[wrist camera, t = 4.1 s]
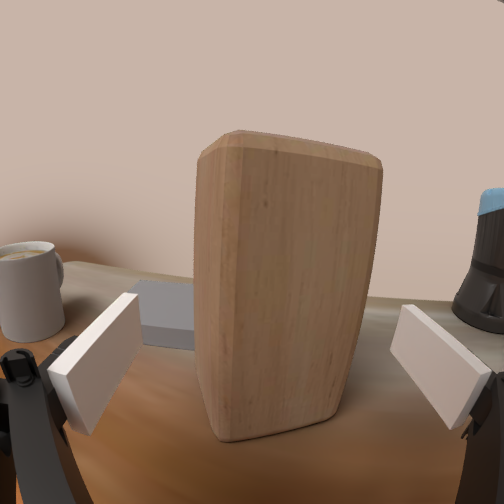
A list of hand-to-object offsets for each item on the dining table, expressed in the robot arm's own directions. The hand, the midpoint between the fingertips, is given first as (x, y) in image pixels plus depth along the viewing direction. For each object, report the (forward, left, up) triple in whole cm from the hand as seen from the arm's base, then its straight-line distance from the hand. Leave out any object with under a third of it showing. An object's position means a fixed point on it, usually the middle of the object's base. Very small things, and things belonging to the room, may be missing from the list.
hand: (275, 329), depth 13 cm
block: (0, -7, -11) cm, 13 cm away
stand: (+11, -21, -11) cm, 26 cm away
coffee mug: (+29, -15, -11) cm, 34 cm away
